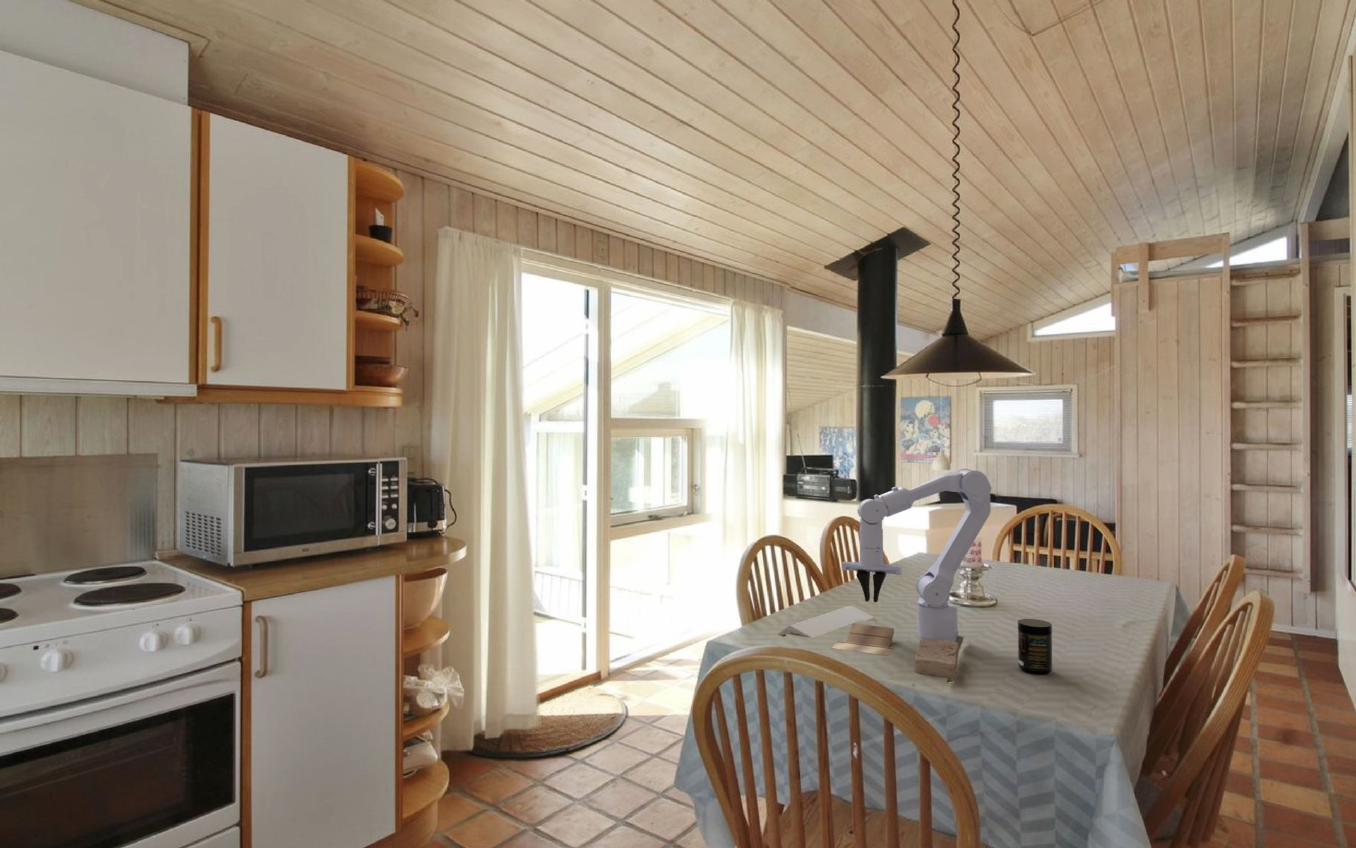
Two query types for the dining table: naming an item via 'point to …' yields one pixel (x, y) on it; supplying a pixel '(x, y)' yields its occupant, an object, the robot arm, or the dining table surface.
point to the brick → (937, 658)
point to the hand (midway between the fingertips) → (871, 601)
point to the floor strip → (862, 648)
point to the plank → (871, 635)
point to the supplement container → (1035, 646)
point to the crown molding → (828, 622)
